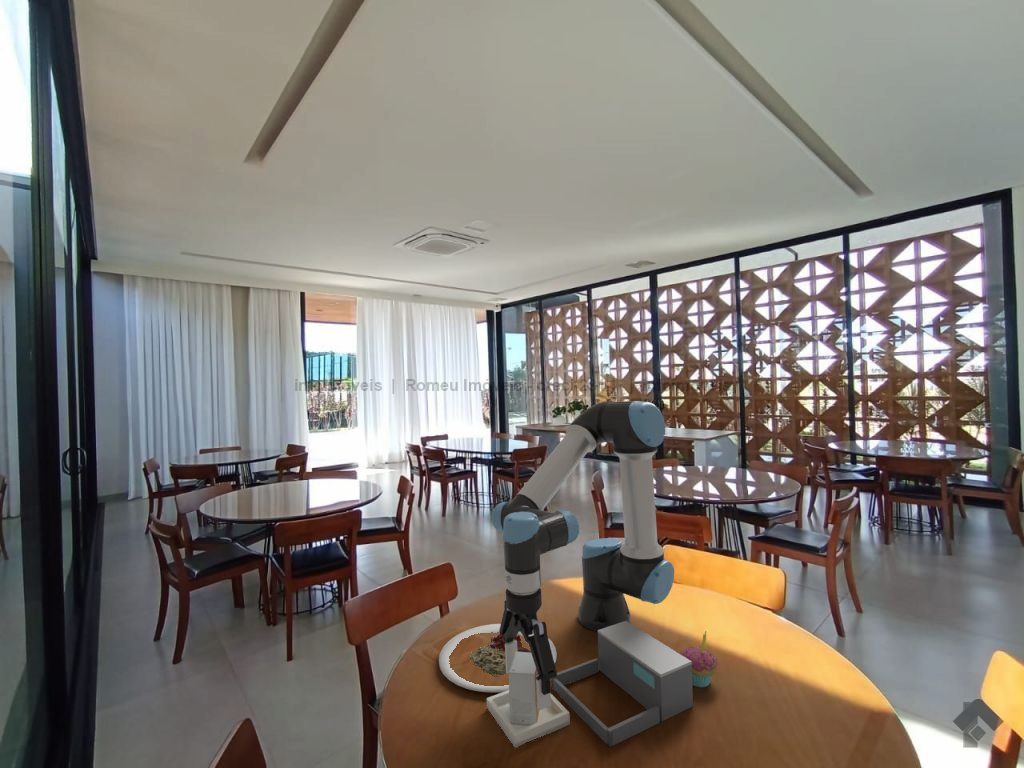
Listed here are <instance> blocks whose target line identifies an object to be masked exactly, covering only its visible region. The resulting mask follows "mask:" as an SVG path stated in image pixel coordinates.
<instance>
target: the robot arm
mask: <svg viewBox="0 0 1024 768" xmlns="http://www.w3.org/2000/svg"><path fill="white" fill-rule="evenodd" d="M665 435H666V423H665V418H664V415H663V414H662V412H661V410H660V409H659V408H658V407H657V405H655V404H654V403H652V402H649V401H641V400H626V401H624V400H623V401H610V400H609V401H608V400H607V401H601V402H598V403H596V404H593V405H591V406H590V407H588V408H587V409H586V410H584V411H582V412H581V413H580V414H579V415H578V416H576V418H575V419H574V420H573V421H572V422H571V423H570V424H569V425H568V427H567V428H566V432H565V435H564V437H563V438H562V439H561V440H560V442H559V443H557V446H555V448H554V449H553V450H552V451H551V452H550V454H549V455H548V456H547V457H546V459H545V460H544V461H543V463H542V464H541V465H540V466H539V467H538V468H537V470H536V471H535V472H534V473H533V474H532V476H531V477H530V478H529V479H528V480H527V482H526V483H525V484H524V485H523V487H521V489H520V490H519V492H518V493H516V496H514V497H513V499H512V500H511V501H502V502H500V503H498V504H496V506H495V507H494V509H493V511H492V514H491V522H492V525H493V528H494V529H495V530H496V531H497V532H500V533H502V540H503V554H504V557H503V558H504V575H505V576H503V579H504V582H505V588H506V590H505V600H504V606H503V608H504V610H503V613H502V619H501V623H500V624H501V626H500V630H499V633H500V635H503V640H504V642H505V660H506V673H507V674H509V670H510V668H511V665H512V662H513V659H514V656H515V652H517V641H516V640H514V641H513V639H516V638H517V634H518V632H521V633H522V635H523V637H524V640H525V642H526V643H528V645H529V648H530V651H531V654H532V657H533V660H534V663H535V666H536V669H537V672H538V675H537V676H536V685H537V709H538V710H539V711H540V710H542V709H545V708H547V707H550V706H551V694H552V693H551V689H552V686H551V678H554V677H556V676H557V673H558V672H557V669H556V663H555V664H554V660H553V656H552V652H551V648H550V644H549V640H548V638H549V636H548V628H547V623H546V622H545V621H541V622H539V620H538V616H537V614H538V611H539V610H540V608H542V589H541V586H542V577H541V575H542V574H541V573H542V572H541V555H544V554H546V553H549V552H551V551H554V550H557V549H559V548H563V547H566V546H568V545H569V544H571V543H573V542H575V541H576V540H577V539H578V537H579V535H580V526H579V525H580V524H579V521H578V518H577V517H576V516H575V515H574V513H572V512H571V511H569V510H565V509H561V510H555V511H553V512H549V511H544V509H545V508H546V507H547V506H548V504H549V503H550V502H551V500H552V499H553V497H554V496H555V495H556V494H557V492H558V491H559V490H560V489H561V487H562V485H564V483H565V482H566V481H567V480H568V478H569V477H570V475H571V474H572V473H573V472H574V470H575V469H576V468H577V467H578V466H579V464H580V463H581V462H582V461H583V459H584V457H585V456H586V455H587V454H588V453H589V452H592V451H594V450H596V448H597V447H598V446H599V445H600V444H603V443H611V444H612V449H613V453H614V454H615V455H616V456H617V457H618V459H619V470H620V484H621V485H620V486H621V500H622V501H621V503H622V515H623V528H624V529H623V530H624V543H622V541H621V540H620V539H618V538H612V537H607V538H606V537H603V538H595V539H592V540H589V541H587V542H585V543H584V544H583V545H582V553H581V555H582V556H581V563H582V564H581V565H582V566H581V567H582V582H583V584H582V585H583V593H582V597H581V601H580V605H579V607H578V611H577V612H578V615H577V616H578V617H577V619H578V618H579V619H578V622H579V621H580V622H579V623H580V625H582V626H583V627H585V628H586V629H588V630H591V631H595V632H598V630H600V629H603V628H606V627H609V626H612V625H615V624H618V623H621V622H624V621H627V622H629V623H631V612H630V609H629V606H628V603H627V600H626V597H625V595H626V596H629V597H632V598H635V599H638V600H640V601H642V602H644V603H645V602H646V603H650V604H652V605H656V604H657V605H658V604H660V603H663V602H664V600H666V598H667V597H668V596H669V594H670V592H671V590H672V588H673V585H674V580H675V567H674V565H673V563H672V562H671V561H669V560H668V559H665V551H664V548H663V547H662V546H661V545H660V544H659V543H658V532H657V531H658V530H657V518H656V517H657V516H656V513H657V512H656V501H655V485H654V483H655V482H654V469H653V457H654V455H655V454H657V452H658V446H660V445H661V444H662V443H663V442H664V439H665ZM532 634H534V635H533V636H529V635H532ZM550 693H551V694H550Z"/></svg>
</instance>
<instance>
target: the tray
mask: <svg viewBox="0 0 1024 768" xmlns="http://www.w3.org/2000/svg"><path fill="white" fill-rule="evenodd" d="M550 694H551V706H550V707H547V708H545V709H542V710H540V711H539V715H538V720H537V723H535V724H533V725H525V724H516V723H511V722H510V701H509V690H508V691H505V692H499V693H497V694H495V695H491V696H489V697H487V698H486V709H487V708H488V709H489V711H490V712H491V714H492V715H493V717H494V718H495V719H496V721H497V723H498V724H499V726H500V727H501V728H500V727H499V726H498V727H499V728H500V730H501V729H502V730H503V731H504V733H505V734H506V735H505V734H504V733H503V734H504V735H505V737H506V736H507V737H508V738H507V737H506V738H507V739H509V740H510V741H511V742H510V741H509V740H508V741H509V742H510V744H511V743H512V744H513V745H512V744H511V745H512V746H514V747H517V746H519V745H522V744H524V743H526V742H529V741H531V740H533V739H536V738H538V737H540V738H542V737H544V735H545V736H547V735H549V734H551V733H553V732H554V733H555V732H556V731H557V730H560V729H562V728H565V727H567V726H569V725H571V724H570V723H571V722H570V720H571V719H570V712H569V710H568V709H566V708H565V707H564V705H562V704H561V702H560V701H559V700H558V699H557V698H556V697H555V696H554V695H553V694H552V693H551V692H550ZM491 714H490V715H491ZM493 717H492V718H493ZM496 721H495V722H496ZM497 723H496V724H497ZM498 724H497V725H498ZM502 730H501V731H502ZM503 731H502V732H503ZM546 734H547V735H546ZM541 736H542V737H541ZM538 739H539V738H538ZM536 740H537V739H536ZM533 741H534V740H533ZM531 742H532V741H531ZM529 743H530V742H529ZM524 745H525V744H524ZM522 746H523V745H522ZM514 747H513V748H514ZM517 748H518V747H517Z"/></svg>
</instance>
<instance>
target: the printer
mask: <svg viewBox="0 0 1024 768" xmlns="http://www.w3.org/2000/svg"><path fill="white" fill-rule="evenodd" d="M597 649H598V653H597V654H598V658H597V657H596V658H594V659H591V660H588V661H585V662H582V663H579V664H577V665H575V666H572V667H570V668H567V669H564V670H562V671H559V672H557V676H556V677H554V678H551V679H550V686H551V689H552V688H553V689H554V690H555V691H556V692H557V693H558V694H559V695H560V696H561V697H562V698H561V697H560V696H559V695H558V694H557V693H556V692H555V691H554V690H553V689H552V690H553V691H554V692H555V693H556V694H557V695H558V696H559V697H560V698H561V699H562V700H563V702H564V703H566V704H567V705H568V707H569V708H570V709H571V710H573V712H574V713H576V715H577V716H578V717H579V718H580V719H581V720H582V721H583V722H584V723H585V722H586V723H587V724H588V725H589V726H590V727H591V728H590V727H589V728H590V729H591V731H594V733H595V734H596V735H597V736H598V737H599V738H600V739H601V740H602V741H603V742H604V743H605V744H606V745H607V746H608V747H609V748H611V747H613V746H615V745H617V744H619V743H622V742H623V741H625V740H627V739H630V738H631V737H635V736H636V735H638V734H640V733H642V732H644V731H646V730H648V729H650V728H652V727H654V726H657V724H660V723H661V722H664V721H666V720H668V719H670V718H672V717H674V716H676V715H679V714H680V713H682V712H684V711H686V710H688V709H690V708H693V707H694V699H693V698H694V697H693V694H694V693H693V685H692V661H690V660H688V659H687V658H685V657H684V656H682V655H680V654H679V653H680V652H676V651H675V650H674V649H672V648H671V647H669V646H668V645H665V644H664V643H663V642H661V641H660V640H658V639H656V638H655V637H653V636H651V635H650V634H648V633H646V631H643V630H642V629H640V628H638V627H637V626H635V625H634V624H632V623H631V622H630V623H629V622H627V621H624V622H621V623H618V624H615V625H612V626H609V627H606V628H603V629H600V630H598V631H597ZM599 671H600V672H601V673H602V674H604V675H605V676H606V677H607V678H608V679H609V680H611V681H612V682H613V683H615V684H616V685H617V686H619V687H618V688H621V689H622V690H623V691H624V692H625V693H627V694H628V695H629V696H631V697H632V699H634V700H635V701H636V702H638V703H639V704H640V705H641V706H643V707H644V708H645V709H646V710H644V711H642V712H640V713H638V714H636V715H633V716H631V717H629V718H627V719H625V720H623V721H621V722H618V723H616V724H615V725H612V726H609V727H607V725H606V724H604V723H603V721H601V719H599V718H598V717H597V716H596V715H595V714H594V713H593V712H592V711H591V710H590V709H589V708H588V707H587V706H586V705H585V704H584V703H582V701H581V700H580V699H578V698H577V697H576V695H574V694H573V693H572V692H571V691H570V690H569V689H568V688H567V687H566V686H567V685H566V684H568V683H570V682H573V681H575V682H577V681H576V680H578V679H580V680H582V679H581V678H583V679H585V678H584V677H586V678H587V676H588V677H590V676H589V675H591V676H593V675H595V673H596V674H597V672H598V673H600V672H599ZM592 674H593V675H592ZM578 681H579V680H578ZM573 683H574V682H573ZM570 684H571V683H570ZM564 685H565V686H564ZM568 685H569V684H568ZM586 723H585V724H586ZM587 724H586V725H587ZM588 725H587V726H588Z"/></svg>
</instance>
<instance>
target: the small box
mask: <svg viewBox="0 0 1024 768" xmlns="http://www.w3.org/2000/svg"><path fill="white" fill-rule="evenodd" d="M537 675H538V672H537V669H536V666H535V663H534V660H533V657H532V654H531V653H528V652H515V656H514V659H513V662H512V665H511V668H510V670H509V701H510V722H511V723H516V724H525V725H533V724H535V723H537V720H538V715H539V710H538V709H537V685H536V676H537Z"/></svg>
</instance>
